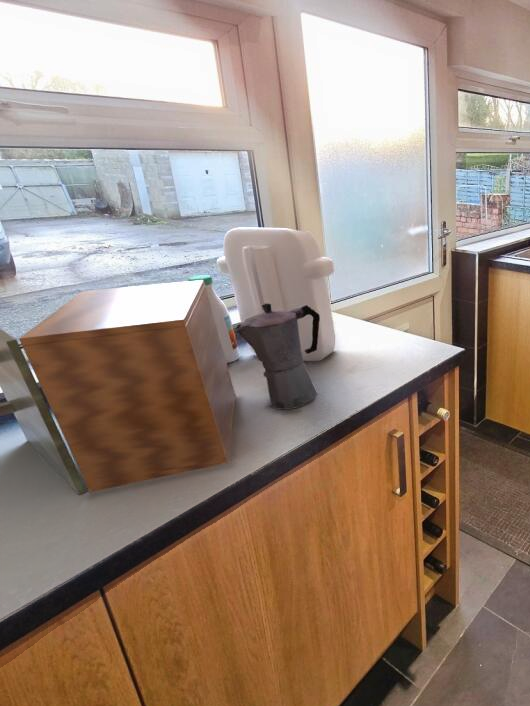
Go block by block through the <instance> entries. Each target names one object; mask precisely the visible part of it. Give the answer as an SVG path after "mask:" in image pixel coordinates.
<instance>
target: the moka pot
mask: <svg viewBox="0 0 530 706" xmlns="http://www.w3.org/2000/svg"><path fill="white" fill-rule="evenodd" d="M262 308H263V310H264V311H265V313H261V314H258V315H256V316H253V317H250V318H248V319H245V322H243V323H241V322H240V323H239V324H237V325H236V327H235V328H233V330H234V333H238V334H239V335H240V337H241V338H243V339H244V341H245V342H246V343H248V344H249V345H250V346H251V347H252V348H253V349H254V351H255V353H256V355H257V356H256V357H257V359H258V361H259V362H261V365H262V367H263V369H264V372H263V373H262V375H263V377H264V378H265V379H266V383H267V391H268V395H269V401H270V406H271V407H272V408H273V409H277V410H291V409H296V408H300V407H302V406H304V405H307V404H309V403H311V402H312V401H313V400H315V398H316V397H317V395H318V392H317V390H316V387H315V385H314V382H313V380H312V378H311V376H310V374H309V372H308V369H307V366H306V363H305V361H304V360H303V357H302V352H301V344H300V337H299V330H298V323H297V320H298V319H300V318H303V317H305V316H306V315H311V316H312V317H313V323H312V325H313V328H312V330H313V331H312V338H313V340H312V345H311V347H310V348H309V349H305V352H306V354H308V353H311V352H314V351H316V350H317V343H318V330H319V321H320V315H319V314H318V313H317V312H315V310H313V309H311V308H310V307H308V306H307V305H305V306H303V307H301V308H300V309H298V308H297V309H293V310H291V311H284V310H279V311H272V310H271V304H268V303H266V304H263V305H262ZM248 344H247V345H248Z"/></svg>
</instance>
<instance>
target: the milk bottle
mask: <svg viewBox="0 0 530 706" xmlns="http://www.w3.org/2000/svg"><path fill="white" fill-rule="evenodd" d="M198 280H204V283H205V287H206V291H207V294H208V298H209V301H210V305H211V309H212V312H213V316H214V319H215V323H216V327H217V330H218V334H219V337H220V341H221V345H222V348H223V352H224V355H225V359H226V363H227V364H229V363H232V362H235V361H237V360H238V359H240V357H241V353H240V349H239V344H238V341H237V337H236V332H234V327H233V323H232V319H231V315H230V313H229V310H228V308H227V306H226V304H225V303H224V301H223V300H222V299H221V298H220V296H218V294H217V292H216V290H215V289H214V281H213V277H212V276H211V275H209V274H201V275H199V274H198V275H193V276H190V277H188V279H187V281H198Z"/></svg>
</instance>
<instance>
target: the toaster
mask: <svg viewBox="0 0 530 706" xmlns="http://www.w3.org/2000/svg"><path fill="white" fill-rule="evenodd" d="M216 266H217V269H218V271H219V272H218V273H219V274H222V275H224V276H228V277H229V280H230V281H229V282H230V284H231V288H232V292H233V296H234V299H235V303H236V307H237V312H238V316H239V319H240V324H241V323H243V322H245V319H248V318H250V317H253V316H256V315H258V314H261V313H265V311H264V310H263V308H262V305H263V304H266V303H268V304H271V310H272V311H279V310H284V311H291V310H293V309H297V308H298V309H300V308H301V307H303V306H305V305H307V306H308V307H310V308H311V309H313V310H315V312H317V313H318V314H319V315H320V321H319V330H318V343H317V350H316V351H314V352H311V353H308V354H306V352H305V349H309V348H310V347H311V345H312V340H313V338H312V331H313V330H312V328H313V325H312V323H313V317H312V316H311V315H306V316H305V317H303V318H300V319H298V320H297V323H298V330H299V337H300V344H301V352H302V357H303V361H306V362H307V361H308V362H319V361H322V360H323V359H325V358H327V356H330V355H331V354H332V353H333V352H334V351H335V347H336V332H335V326H334V319H333V313H332V308H331V303H330V296H329V290H328V284H327V279H326V278H328V277H330V276H331V275H333V274H335V265H334V261H333V259H331V258H330V257H328V256H323V255H322V252H321V248H320V246H319V244H318V241H317V240H316V238H315V236H314V234H313V233H312V232H311V231H310V230H308V229H307V230H298V229H294V228H288V227H256V226H255V227H253V226H250V227H249V226H247V227H246V226H240V227H233V228H232V229H229V230H228V231H227V232H226V233H225V234H224V237H223V256H222V255H221V256H219V257H218V258H217V260H216ZM246 343H247V342H246ZM247 346H248V348H249V349H250V352H251V353H252V354H253V355H254V356H255V357H257V355H256V353H255V351H254V349H253V348H252V347H251V346H250V345H249V344H248V343H247Z"/></svg>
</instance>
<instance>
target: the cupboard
mask: <svg viewBox="0 0 530 706" xmlns="http://www.w3.org/2000/svg"><path fill="white" fill-rule="evenodd" d="M18 340H19V342H20V344H21V346H22V349H23V351H24V353H25V355H26V358H27V359H28V362H29V364H30V366H31V368H32V370H33V373H34V375H35V378H36V379H37V381H38V384H39V385H40V388H41V390H42V392H43V394H44V397H45V399H46V401H47V402H48V405H49V407H50V410H51V412H52V414H53V416H54V417H55V420H56V422H57V424H58V427H59V429H60V431H61V433H62V435H63V438H64V440H65V442H66V444H67V447H68V448H69V450H70V451H69V452H70V454H71V455H72V457H73V459H74V461H75V463H76V464H75V465H77V468H78V470H79V472H80V474H81V476H82V477H81V478H82V480H83V482H84V483H85V486H86V487H87V489H88V490H87V491H88V492H89V493H94V492H98V491H103V490H108V489H112V488H117V487H122V486H126V485H131V484H136V483H140V482H145V481H149V480H155V479H159V478H164V477H169V476H172V475H178V474H182V473H186V472H192V471H196V470H201V469H206V468H210V467H216V466H220V465H224V464H227V463H228V462H229V454H230V449H231V448H230V447H231V439H232V433H233V423H234V416H235V409H236V401H237V395H236V392H235V387H234V384H233V380H232V377H231V373H230V370H229V366H228V363H226V359H225V355H224V352H223V348H222V345H221V341H220V337H219V334H218V330H217V327H216V323H215V319H214V316H213V312H212V309H211V305H210V301H209V298H208V294H207V291H206V287H205V283H204V280H198V281H188V280H187V281H178V282H167V283H156V284H145V285H144V284H143V285H134V286H123V287H113V288H111V287H110V288H101V289H92V290H82V291H81V292H79V293H78V294H76V296H74V297H72V298H71V299H70V300H69V301H67V302H66V303H64V304H63V305H62V306H61V307H59V308H58V309H56V310H55V311H54V312H52V313H51V314H50V315H49V316H47V317H46V318H44V319H43V320H41V322H39V323H38V324H36V325H35V326H34V327H32V328H31V329H30V330H28V331H27V332H25V333H24V334H23V335H22V336H20V337H19V338H18ZM228 464H229V463H228Z"/></svg>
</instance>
